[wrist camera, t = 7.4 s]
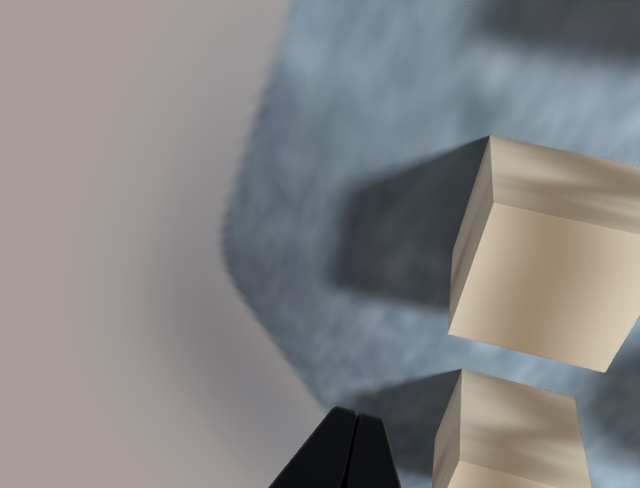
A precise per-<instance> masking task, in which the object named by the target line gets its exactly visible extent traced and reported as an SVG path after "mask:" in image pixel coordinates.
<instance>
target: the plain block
mask: <svg viewBox="0 0 640 488" xmlns="http://www.w3.org/2000/svg"><path fill="white" fill-rule="evenodd" d="M639 315H640V168H639V166H636V165H631V164H626V163H621V162H617V161H612V160H607V159H602V158H597V157H593V156H588V155H583V154H578V153H573V152H568V151H564V150H559V149H554V148H549V147H544V146H539V145H535V144H530V143H525V142H520V141H515V140H510V139H506V138H501V137H496V136H491V135H490V136H489V140H488V143H487V146H486V149H485V152H484V155H483V158H482V161H481V165H480V168H479V171H478V174H477V177H476V180H475V183H474V186H473V190H472V193H471V196H470V199H469V202H468V205H467V208H466V211H465V214H464V218H463V221H462V224H461V227H460V230H459V233H458V236H457V239H456V243H455V246H454V249H453V254H452V271H451V288H450V305H449V322H448V334H451V335H455V336H459V337H463V338H467V339H471V340H475V341H479V342H483V343H487V344H491V345H495V346H499V347H503V348H507V349H511V350H515V351H519V352H523V353H527V354H531V355H535V356H539V357H543V358H547V359H551V360H555V361H559V362H563V363H567V364H571V365H575V366H579V367H583V368H587V369H591V370H595V371H599V372H603V373H605V372H606V370H607V368H608V367H609V365H610V363H611V362H612V360H613V358H614V357H615V355H616V353H617V352H618V350H619V348H620V347H621V345H622V343H623V342H624V340H625V338H626V337H627V335H628V333H629V332H630V330H631V328H632V327H633V325H634V323H635V322H636V320H637V318H638V317H639Z"/></svg>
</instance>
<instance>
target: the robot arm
mask: <svg viewBox="0 0 640 488" xmlns="http://www.w3.org/2000/svg"><path fill="white" fill-rule="evenodd" d="M269 488H401V484H400V480H399V476H398V473H397V469H396V465H395V461H394V457H393V453H392V450H391V446H390V442H389V438H388V434H387V431H386V427H385V423H384V421H383V420H382V419H381V418H379V417H376V416H372V415H368V414H364V413H361V414H359V415H358V414H357V413H356V412H355V411H353V410H350V409H346V408H342V407H339V406H336V407H334V408H333V409H332V410H331V411H330V412H329V413H328V414H327V416H326V417H325V418H324V419H323V421H322V422H321V423H320V424H319V426H318V427H317V428H316V429H315V431H314V432H313V433H312V434H311V435H310V437H309V438H308V439H307V440H306V442H305V443H304V444H303V446H302V447H301V448H300V449H299V450H298V452H297V453H296V454H295V455H294V457H293V458H292V459H291V460H290V462H289V463H288V464H287V465H286V466H285V468H284V469H283V470H282V471H281V473H280V474H279V475H278V476H277V478H276V479H275V480H274V481H273V483H272V484H271V485H270V486H269Z"/></svg>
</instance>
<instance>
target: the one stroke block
mask: <svg viewBox="0 0 640 488" xmlns="http://www.w3.org/2000/svg"><path fill="white" fill-rule="evenodd" d="M432 488H591V483H590V477H589V472H588V467H587V461H586V456H585V451H584V446H583V440H582V435H581V430H580V424H579V419H578V414H577V408H576V403H575V398H574V397H570V396H567V395H563V394H559V393H555V392H551V391H547V390H543V389H539V388H535V387H531V386H528V385H524V384H520V383H516V382H512V381H508V380H504V379H500V378H496V377H492V376H489V375H485V374H481V373H477V372H473V371H469V370H465V369H462V370H461V373H460V375H459V378H458V380H457V383H456V386H455V388H454V391H453V393H452V396H451V398H450V401H449V404H448V406H447V409H446V411H445V414H444V416H443V419H442V421H441V424H440V427H439V429H438V432H437V434H436V437H435V449H434V463H433V477H432Z"/></svg>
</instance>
